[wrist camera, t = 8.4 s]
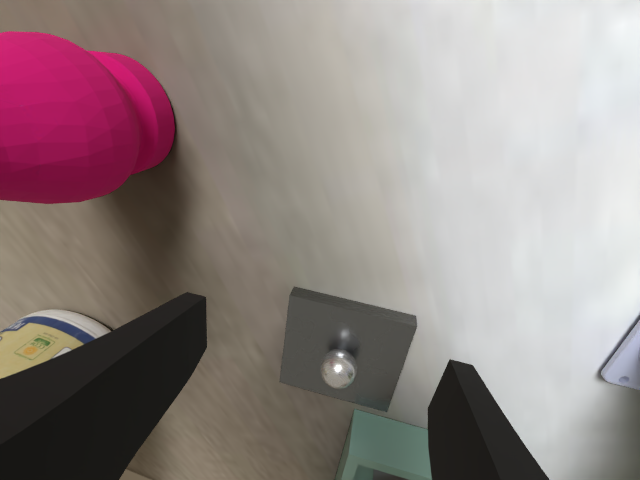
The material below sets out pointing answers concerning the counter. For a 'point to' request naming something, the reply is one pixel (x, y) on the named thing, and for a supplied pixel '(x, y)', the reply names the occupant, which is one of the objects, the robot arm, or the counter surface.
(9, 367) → the supplement tub
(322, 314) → the base
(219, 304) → the counter surface
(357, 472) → the bin
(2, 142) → the pepper mill
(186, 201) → the counter surface
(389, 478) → the strut
